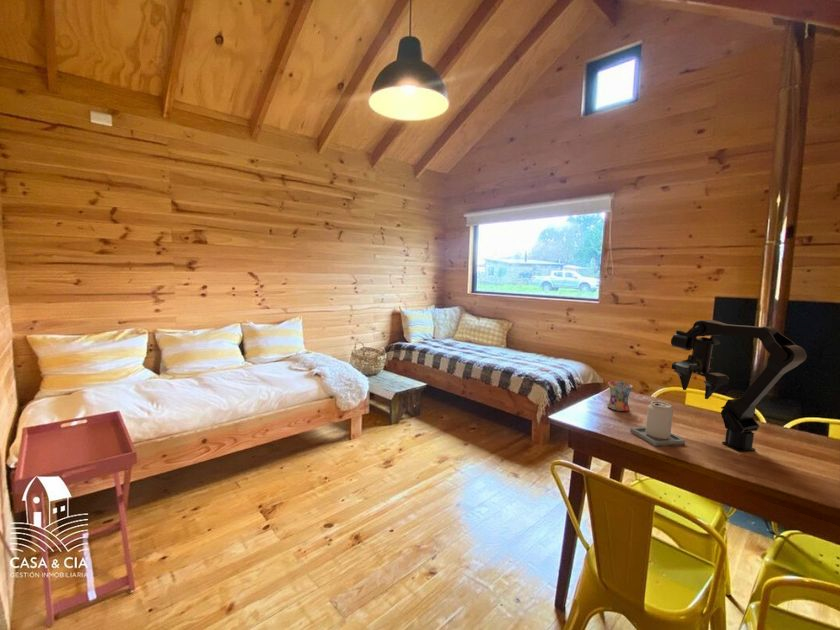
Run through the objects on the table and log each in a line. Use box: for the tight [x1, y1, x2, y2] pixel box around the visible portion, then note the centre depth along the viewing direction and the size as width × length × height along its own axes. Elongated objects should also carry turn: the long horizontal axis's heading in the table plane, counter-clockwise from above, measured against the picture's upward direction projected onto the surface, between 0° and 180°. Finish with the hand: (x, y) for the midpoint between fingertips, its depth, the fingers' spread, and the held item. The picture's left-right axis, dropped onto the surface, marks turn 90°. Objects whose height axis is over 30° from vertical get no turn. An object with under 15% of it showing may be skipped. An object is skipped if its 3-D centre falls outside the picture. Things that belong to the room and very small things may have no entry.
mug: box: [606, 380, 634, 412], centre depth 164 cm, size 12×9×11 cm
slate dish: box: [630, 426, 686, 448], centre depth 136 cm, size 12×12×2 cm
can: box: [645, 400, 674, 440], centre depth 135 cm, size 8×8×12 cm
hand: (695, 394), depth 144 cm, fingers open, 9 cm apart
